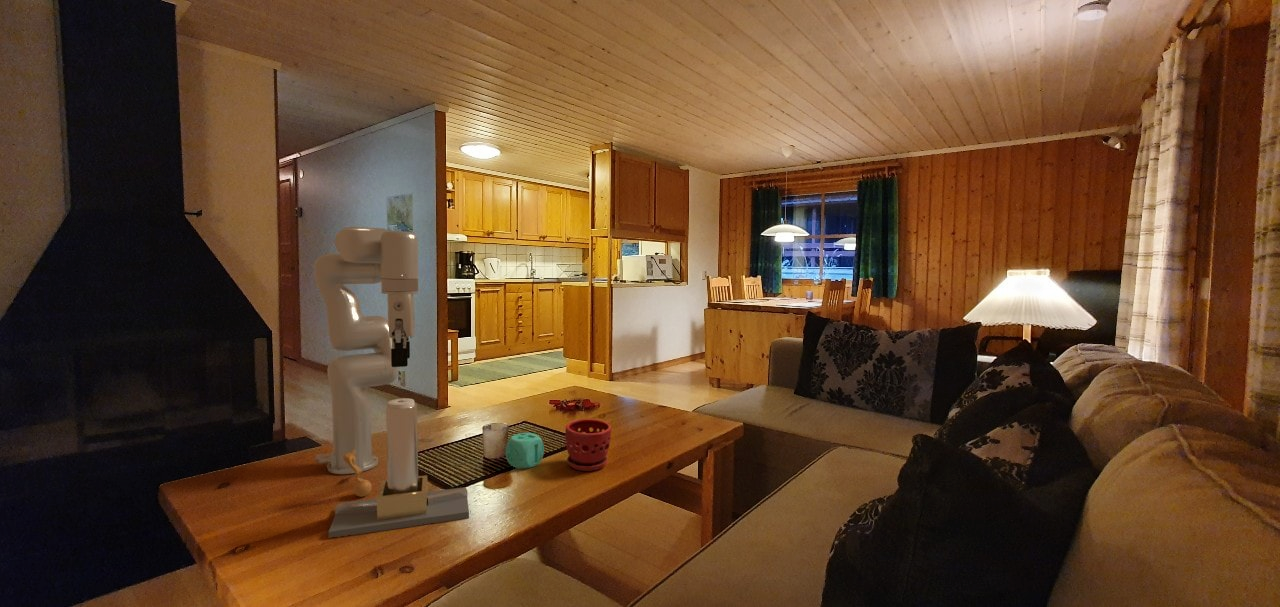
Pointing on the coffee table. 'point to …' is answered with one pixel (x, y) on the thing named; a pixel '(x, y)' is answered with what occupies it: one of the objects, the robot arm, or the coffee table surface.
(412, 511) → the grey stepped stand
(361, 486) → the figurine
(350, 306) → the robot arm
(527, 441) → the decorative dice
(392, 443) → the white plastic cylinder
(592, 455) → the plant pot
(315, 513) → the coffee table surface
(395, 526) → the base plate
